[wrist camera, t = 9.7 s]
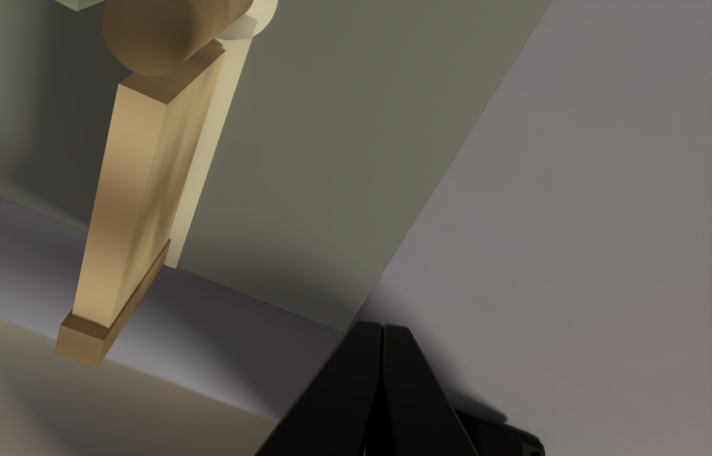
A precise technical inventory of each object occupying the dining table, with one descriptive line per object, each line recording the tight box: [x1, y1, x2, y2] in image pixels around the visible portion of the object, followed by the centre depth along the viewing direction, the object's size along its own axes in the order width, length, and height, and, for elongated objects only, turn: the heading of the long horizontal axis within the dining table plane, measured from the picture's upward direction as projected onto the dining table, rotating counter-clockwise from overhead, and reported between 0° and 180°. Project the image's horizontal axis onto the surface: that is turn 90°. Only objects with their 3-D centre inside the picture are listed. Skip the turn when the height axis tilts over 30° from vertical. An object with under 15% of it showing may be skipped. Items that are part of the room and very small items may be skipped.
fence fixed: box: [55, 0, 254, 368], centre depth 17 cm, size 12×2×6 cm, turn 156°
